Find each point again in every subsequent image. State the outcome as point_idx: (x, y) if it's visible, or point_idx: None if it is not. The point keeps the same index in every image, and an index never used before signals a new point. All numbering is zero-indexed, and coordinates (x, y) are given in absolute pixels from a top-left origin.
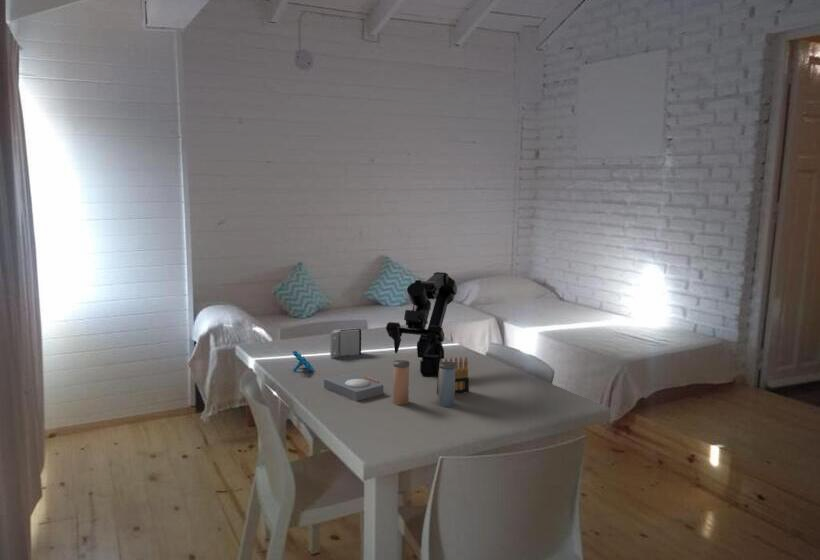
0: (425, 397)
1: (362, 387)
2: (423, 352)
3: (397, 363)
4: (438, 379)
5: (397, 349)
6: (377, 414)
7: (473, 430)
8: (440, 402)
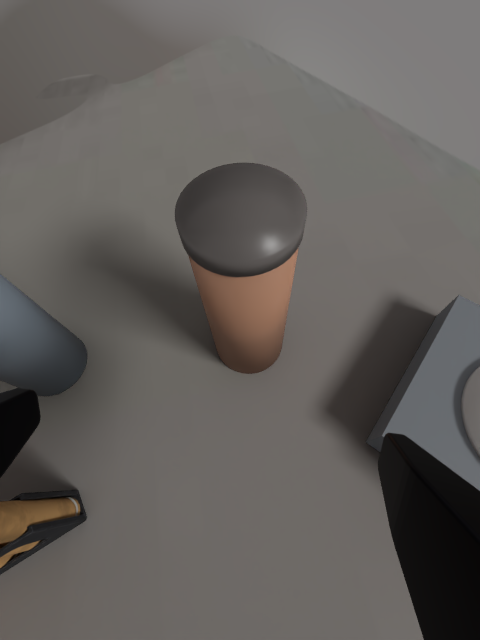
0: (147, 440)
1: (470, 365)
2: (3, 394)
3: (261, 176)
4: (28, 508)
5: (398, 505)
6: None
7: (7, 179)
8: (75, 336)
